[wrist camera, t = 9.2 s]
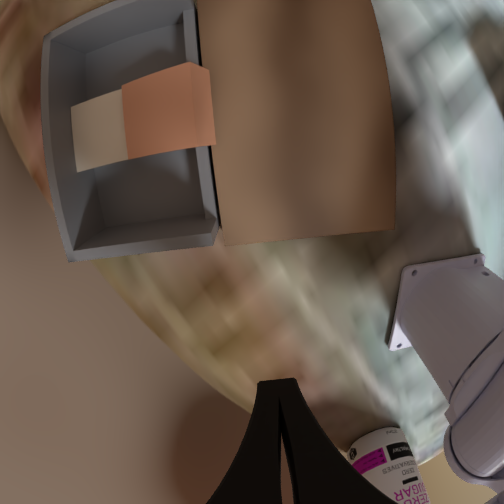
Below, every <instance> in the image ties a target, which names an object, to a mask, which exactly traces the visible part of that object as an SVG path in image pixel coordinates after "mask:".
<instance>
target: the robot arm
mask: <svg viewBox="0 0 504 504" xmlns="http://www.w3.org/2000/svg"><path fill="white" fill-rule="evenodd" d="M484 263H485V255H484V254H475V255H470V256H464V257H458V258H453V259H447V260H441V261H435V262H428V263H422V264H416V265H409V266H406V267H405V268H404V269H403V270H402V274H401V281H400V288H399V294H398V300H397V305H396V311H395V316H394V321H393V326H392V330H391V335H390V339H389V343H388V348H389V350H390V351H394V350H398V349H402V348H406V347H410V346H413V348H414V349H415V351H416V352H417V354H418V355H419V357H420V358H421V360H422V361H423V363H424V364H425V366H426V367H427V369H428V370H429V372H430V373H431V375H432V377H433V378H434V380H435V381H436V383H437V385H438V386H439V388H440V389H441V391H442V393H443V394H444V396H445V398H446V399H447V401H448V403H449V404H450V406H449V408H448V410H447V411H446V412H445V416H446V418H447V420H448V422H449V424H450V425H449V426H448V428H447V430H446V432H445V435H444V452H445V456H446V459H447V462H448V464H449V466H450V467H451V469H452V470H453V472H454V473H455V474H456V475H457V476H458V477H459V478H461V479H462V480H464V481H466V482H468V483H471V484H481V485H485V486H488V487H489V488H491V489H492V490H494V491H495V492H497V493H498V494H497V495H496V496H494V497H493V498H492V499H490V500H489V501H488V502H486V503H485V504H504V280H503V279H502V278H500V277H499V276H497V275H496V274H495V273H493V272H492V271H491V270H489V269H488V268H486V267H485V266H484ZM414 270H415V272H414V273H413V274H412V272H413V271H414ZM281 434H282V439H283V444H284V448H285V453H286V458H287V463H288V467H289V472H290V477H291V483H292V490H293V500H294V504H398V503H397V502H395V501H394V500H392V499H391V498H389V497H388V496H386V495H385V494H384V493H382V492H381V491H380V490H378V489H377V488H376V487H375V486H374V485H372V484H371V483H370V482H369V481H368V480H367V479H366V478H364V477H363V476H362V475H361V474H360V473H359V472H358V471H357V470H356V469H355V468H354V467H353V466H352V465H351V464H350V463H349V462H348V461H347V460H346V459H345V458H344V456H343V455H342V454H341V453H340V452H339V451H338V449H337V448H336V447H335V446H334V444H333V443H332V442H331V441H330V439H329V438H328V436H327V435H326V434H325V432H324V431H323V429H322V428H321V427H320V425H319V423H318V422H317V420H316V419H315V417H314V415H313V414H312V412H311V410H310V409H309V407H308V405H307V403H306V401H305V399H304V397H303V395H302V393H301V391H300V388H299V386H298V383H297V380H296V379H295V378H286V379H277V380H267V381H260V382H259V383H257V394H256V399H255V404H254V408H253V412H252V415H251V418H250V421H249V424H248V427H247V431H246V433H245V436H244V438H243V441H242V443H241V445H240V448H239V450H238V452H237V454H236V456H235V458H234V460H233V462H232V464H231V466H230V468H229V470H228V471H227V473H226V475H225V477H224V478H223V480H222V481H221V483H220V485H219V486H218V488H217V489H216V491H215V492H214V494H213V495H212V496H211V498H210V499H209V500H208V502H207V503H206V504H282V496H281Z"/></svg>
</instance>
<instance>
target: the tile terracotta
mask: <svg viewBox="0 0 504 504" xmlns="http://www.w3.org/2000/svg"><path fill="white" fill-rule="evenodd" d="M122 103H123V116H124V127H125V137H126V146H127V154H128V160H129V159H134V158H140V157H145V156H151V155H156V154H161V153H166V152H172V151H178V150H184V149H190V148H197V147H203V146H211V145H216V137H215V127H214V117H213V107H212V96H211V85H210V73H209V70H208V69H206V68H204V67H201V66H199V65H197V64H194V63H192V62H187V63H183V64H180V65H177V66H174V67H170V68H167V69H164V70H161V71H158V72H155V73H153V74H150V75H147V76H144V77H142V78H139V79H136V80H134V81H131V82H129V83H127V84H124V85H122Z"/></svg>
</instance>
